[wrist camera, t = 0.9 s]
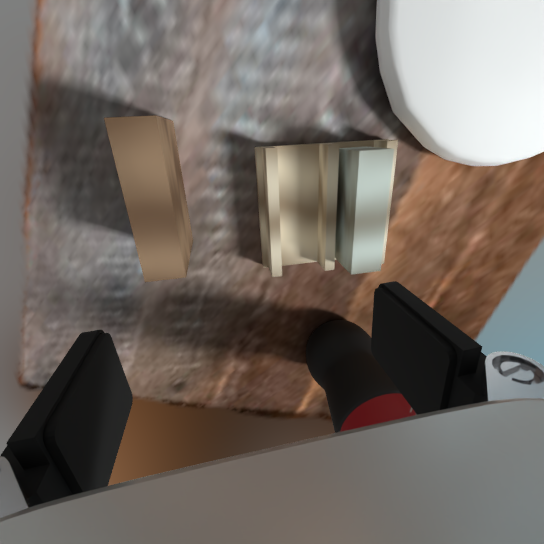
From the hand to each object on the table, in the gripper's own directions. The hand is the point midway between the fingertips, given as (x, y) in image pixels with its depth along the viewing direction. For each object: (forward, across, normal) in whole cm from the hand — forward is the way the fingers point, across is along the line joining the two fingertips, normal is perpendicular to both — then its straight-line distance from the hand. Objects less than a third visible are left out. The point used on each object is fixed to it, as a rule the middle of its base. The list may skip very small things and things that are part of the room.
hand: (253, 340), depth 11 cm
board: (+22, +5, -3) cm, 23 cm away
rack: (+22, -10, +1) cm, 24 cm away
